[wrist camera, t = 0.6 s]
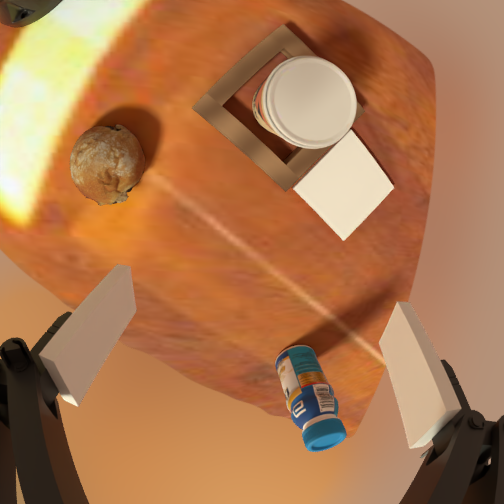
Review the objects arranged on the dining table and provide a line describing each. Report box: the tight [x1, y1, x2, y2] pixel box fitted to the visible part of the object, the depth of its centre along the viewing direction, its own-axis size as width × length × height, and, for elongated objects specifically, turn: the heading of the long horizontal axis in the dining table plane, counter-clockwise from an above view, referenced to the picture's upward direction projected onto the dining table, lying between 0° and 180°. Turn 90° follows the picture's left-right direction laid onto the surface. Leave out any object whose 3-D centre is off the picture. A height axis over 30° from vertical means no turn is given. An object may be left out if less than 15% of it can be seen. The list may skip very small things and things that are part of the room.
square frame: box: [192, 24, 365, 191], centre depth 33 cm, size 16×16×2 cm
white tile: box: [292, 129, 394, 241], centre depth 40 cm, size 12×12×1 cm
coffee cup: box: [252, 56, 357, 149], centre depth 28 cm, size 9×9×12 cm
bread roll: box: [70, 125, 145, 206], centre depth 31 cm, size 10×10×8 cm
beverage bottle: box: [275, 345, 347, 452], centre depth 45 cm, size 8×8×20 cm
